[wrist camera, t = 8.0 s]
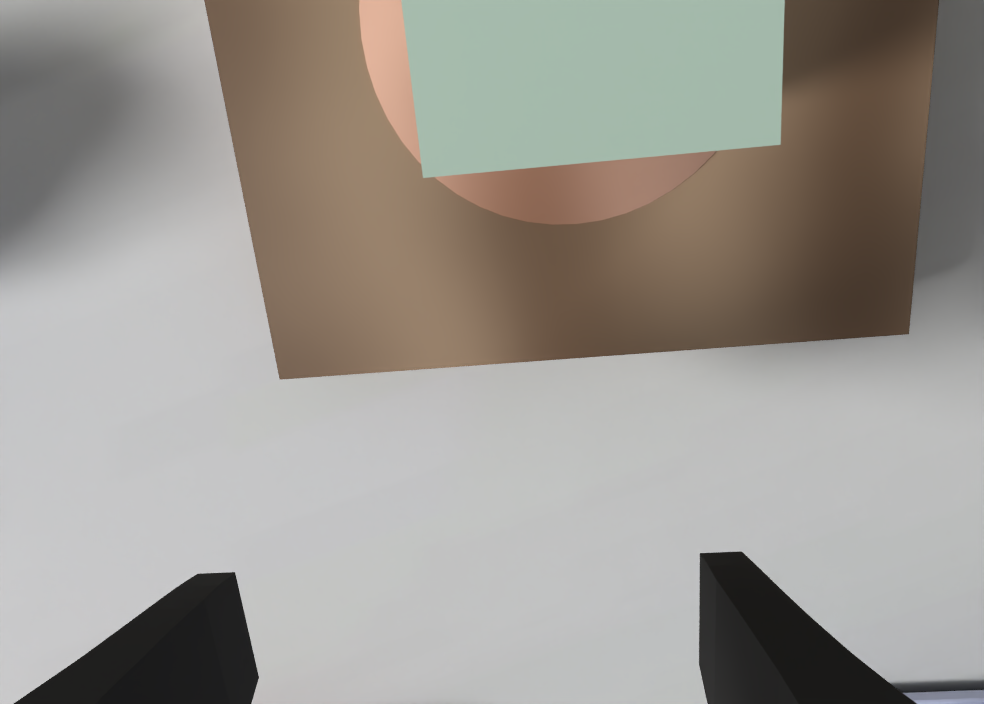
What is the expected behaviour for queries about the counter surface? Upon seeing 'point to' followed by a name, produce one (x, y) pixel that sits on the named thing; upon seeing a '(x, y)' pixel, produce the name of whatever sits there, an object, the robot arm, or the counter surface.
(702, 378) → the counter surface
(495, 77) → the sage block
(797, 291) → the walnut base
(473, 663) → the counter surface
